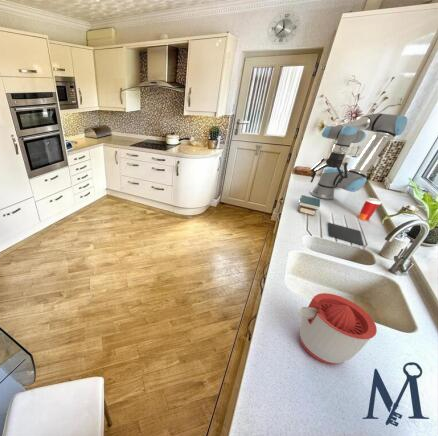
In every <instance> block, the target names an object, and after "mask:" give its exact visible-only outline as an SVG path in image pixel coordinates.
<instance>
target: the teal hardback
mask: <svg viewBox="0 0 438 436" xmlns="http://www.w3.org/2000/svg"><path fill="white" fill-rule="evenodd" d="M300 195H301V196H300V198H299V202H298V206H299V207H300V206H302V207H306V208H310V209H314V210H316V211H319V208H320V207H321V198H318V197H311V196H309V195H303V194H300Z"/></svg>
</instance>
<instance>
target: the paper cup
mask: <svg viewBox="0 0 438 436" xmlns="http://www.w3.org/2000/svg"><path fill="white" fill-rule="evenodd" d="M381 204H382V201H381V200H380V199H378V198H376V197H375V198H374V197H367V198H366V199H365V201H364V203H363V205H362V208H361V209H360V212H359V213H358V216H357V218H358V219H359V220H362V221H369V220H370V219H371V218H372V216H373V215H374V213H375V212H376V210H377V209H378V208H379V206H380V205H381Z"/></svg>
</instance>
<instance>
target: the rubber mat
mask: <svg viewBox="0 0 438 436" xmlns="http://www.w3.org/2000/svg"><path fill="white" fill-rule="evenodd" d="M328 236H329V237H331V238H335V239H338V240H342V241H345V242H348V243H352V244H355V245H359V246H363V247H364V241H363V237H362V234H361V231H360V230H358V229H354V228H350V227H347V226H342V225H339V224H335V223H333V222H332V223H331V222H328Z"/></svg>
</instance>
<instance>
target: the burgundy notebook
mask: <svg viewBox="0 0 438 436" xmlns="http://www.w3.org/2000/svg"><path fill="white" fill-rule="evenodd" d="M316 211H317V210H314V209H310V208H306V207H302V206H299V208H298V213H301V214H305V215H308V216H313V217H314V215H315V213H316Z"/></svg>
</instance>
